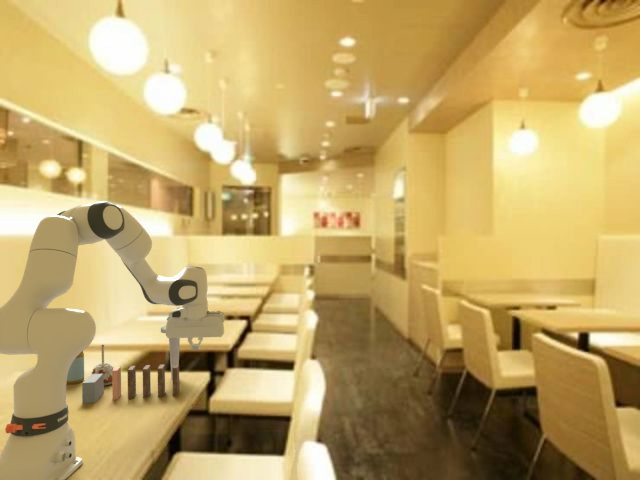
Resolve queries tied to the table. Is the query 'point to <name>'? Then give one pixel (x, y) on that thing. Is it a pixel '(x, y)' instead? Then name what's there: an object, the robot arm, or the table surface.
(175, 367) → the domino
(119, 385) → the domino
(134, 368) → the domino
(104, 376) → the decorative ornament
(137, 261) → the robot arm
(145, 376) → the domino
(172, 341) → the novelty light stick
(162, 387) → the domino
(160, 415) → the table surface
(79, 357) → the bottle
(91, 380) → the end block
